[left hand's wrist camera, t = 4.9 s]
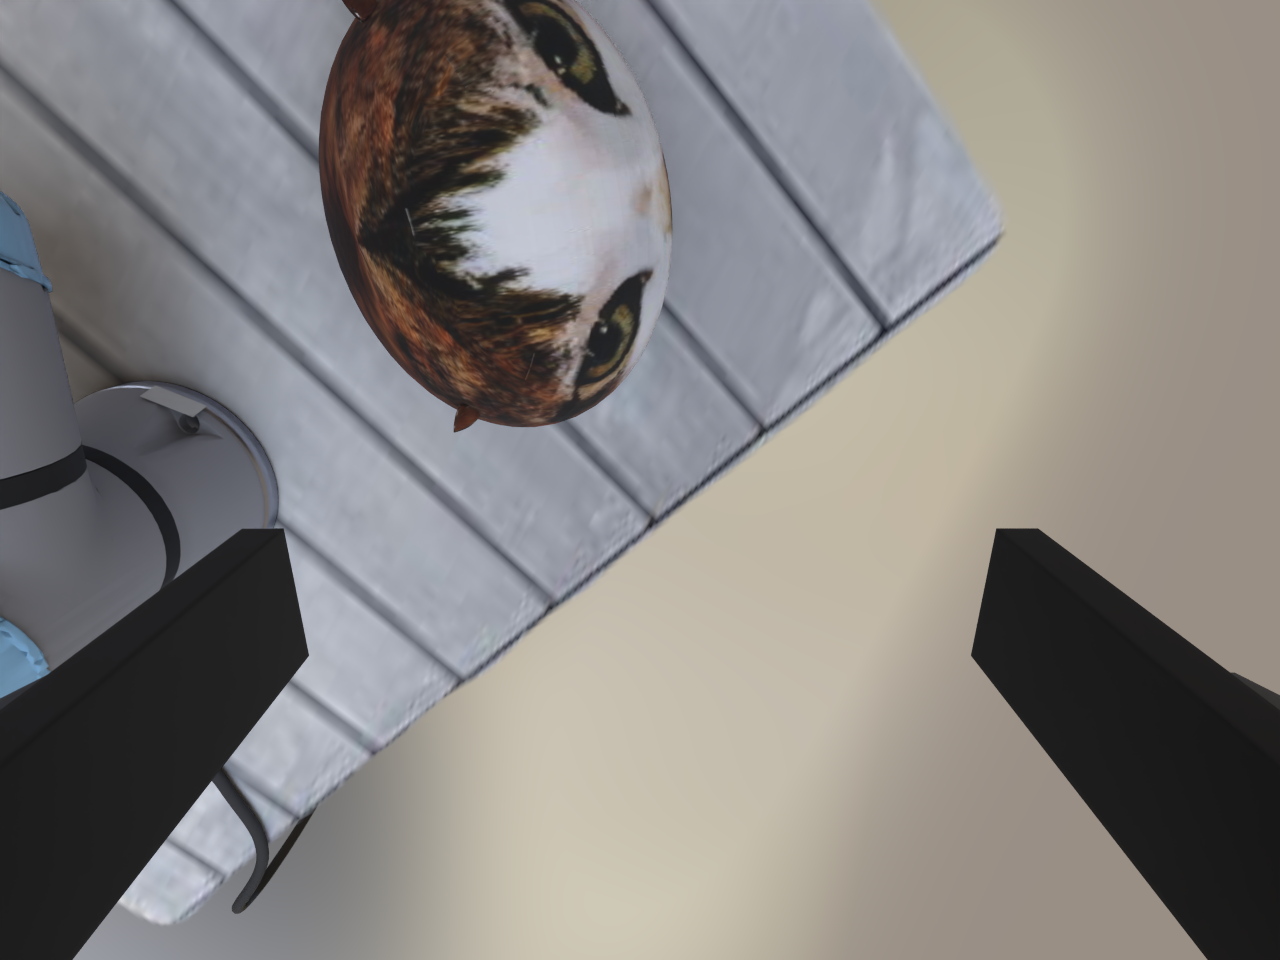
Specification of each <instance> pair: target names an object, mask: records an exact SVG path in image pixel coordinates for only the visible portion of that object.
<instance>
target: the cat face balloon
mask: <svg viewBox="0 0 1280 960" xmlns="http://www.w3.org/2000/svg"><path fill="white" fill-rule="evenodd" d="M342 1H343V2H344V4H345V5H346V7H347V8H348V9H349V11H350V12H351V13H352V14H353V15H354V16H355V17H356V18H355V19H354V21H353V23H352V24H351V26H350V28H349V30H348V31H347V33H346V35H345V37H344V38H343V40H342V43H341V45H340V47H339V49H338V52H337V54H336V57H335V60H334V62H333V65H332V68H331V72H330V75H329V79H328V82H327V86H326V91H325V96H324V101H323V106H322V111H321V122H320V134H319V169H320V182H321V191H322V199H323V204H324V210H325V216H326V221H327V225H328V229H329V233H330V237H331V241H332V244H333V247H334V250H335V253H336V256H337V259H338V262H339V266H340V268H341V271H342V273H343V275H344V277H345V280H346V282H347V284H348V287H349V289H350V291H351V293H352V295H353V297H354V299H355V301H356V303H357V305H358V307H359V309H360V311H361V312H362V314H363V316H364V318H365V320H366V321H367V323H368V324H369V326H370V327H371V329H372V330H373V332H374V333H375V335H376V336H377V338H378V339H379V340H380V342H381V343H382V344H383V346H384V347H385V348H386V350H387V351H388V352H389V354H390V355H391V356H392V357H393V358H394V359H395V360H396V361H397V363H398V364H399V365H400V366H401V367H402V368H403V369H404V370H405V371H406V372H407V373H408V374H409V375H410V376H411V377H412V378H413V379H415V380H416V381H417V382H418V383H419V384H420V385H422V386H423V387H424V388H425V389H426V390H427V391H429V392H430V393H431V394H433V395H434V396H436V397H437V398H438V399H440V400H442V401H443V402H445V403H446V404H448V405H450V406H451V407H453V408H455V409H457V413H456V416H455V421H454V432H458V431H461V430H463V429H466V428H468V427H469V426H471V425H472V424H473V423H474V422H475V421H476V420H477V419H480V420H484V421H487V422H490V423H494V424H499V425H505V426H512V427H537V426H544V425H550V424H556V423H559V422H561V421H564V420H567V419H570V418H573V417H576V416H578V415H580V414H581V413H583V412H585V411H587V410H589V409H590V408H592V407H594V406H595V405H597V404H598V403H599V402H601V401H602V400H603V399H604V398H606V397H607V396H608V395H609V394H610V393H612V392H613V391H614V390H615V389H616V388H617V386H618V385H619V384H620V383H621V382H622V381H623V380H624V379H625V378H626V377H627V375H628V374H629V373H630V371H631V370H632V369H633V367H634V366H635V364H636V363H637V361H638V360H639V358H640V357H641V355H642V353H643V351H644V349H645V348H646V346H647V344H648V342H649V340H650V337H651V335H652V333H653V330H654V328H655V325H656V323H657V321H658V318H659V315H660V311H661V308H662V305H663V301H664V296H665V292H666V288H667V283H668V277H669V271H670V264H671V253H672V208H671V197H670V189H669V182H668V175H667V170H666V165H665V160H664V155H663V151H662V148H661V144H660V140H659V137H658V133H657V130H656V127H655V124H654V121H653V119H652V116H651V113H650V111H649V108H648V106H647V104H646V101H645V99H644V97H643V94H642V92H641V90H640V88H639V86H638V84H637V82H636V80H635V78H634V76H633V74H632V72H631V70H630V69H629V67H628V65H627V64H626V62H625V60H624V59H623V57H622V55H621V54H620V53H619V51H618V50H617V48H616V47H615V45H614V44H613V43H612V41H611V40H610V38H609V37H608V36H607V34H606V33H605V32H604V30H603V29H602V28H601V27H600V26H599V25H598V23H597V22H596V21H595V20H594V19H593V18H592V17H591V16H590V15H589V14H588V13H587V12H586V11H585V9H584V8H583V7H582V6H580V5H579V4H578V3H577V2H576V1H575V0H342Z"/></svg>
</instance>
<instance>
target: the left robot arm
mask: <svg viewBox="0 0 1280 960" xmlns="http://www.w3.org/2000/svg"><path fill="white" fill-rule="evenodd" d="M48 292H52V285H51V282H50V280H49V279H48V278H47V277H46V276H45V275H43V272H42V269H41V265H40V261H39V258H38V254H37V251H36V247H35V244H34V240H33V237H32V233H31V230H30V226H29V223H28V221H27V219H26V217H25V215H24V213H23V211H22V210H21V209H20V207H19V206H18V205H17V204H16V203H15V202H14V201H13V200H12V199H11V198H9V197H8V196H7V195H5V194H4V193H3V192H1V191H0V960H73V958H74V957H75V956H76V954H77V953H78V952H79V951H80V949H81V948H82V947H83V945H84V944H85V943H86V942H87V940H88V939H89V938H90V936H91V935H92V934H93V933H94V931H95V930H96V929H97V927H98V926H99V925H100V924H101V922H102V921H103V920H104V918H105V917H106V916H107V915H108V913H109V912H110V911H111V909H112V908H113V907H114V906H115V904H116V903H117V902H118V900H119V899H120V898H121V897H122V895H123V894H124V893H125V891H126V890H127V889H128V888H129V886H130V885H131V884H132V882H133V881H134V880H135V879H136V877H137V876H138V875H139V873H140V872H141V871H142V870H143V868H144V867H145V866H146V864H147V863H148V862H149V861H150V859H151V858H152V857H153V855H154V854H155V853H156V852H157V850H158V849H159V848H160V846H161V845H162V844H163V843H164V841H165V840H166V839H167V837H168V836H169V835H170V834H171V832H172V831H173V830H174V828H175V827H176V826H177V825H178V823H179V822H180V821H181V819H182V818H183V817H184V816H185V814H186V813H187V812H188V810H189V809H190V808H191V807H192V805H193V804H194V803H195V801H196V800H197V799H198V798H199V796H200V795H201V794H202V792H203V791H204V790H205V789H206V787H207V786H208V785H209V783H210V782H211V781H212V782H213V783H214V784H215V785H216V787H217V788H218V789H219V791H220V792H221V794H222V795H223V796H224V798H225V799H226V801H227V802H228V803H229V805H230V806H231V807H232V809H233V810H234V811H235V813H236V814H237V815H238V816H239V818H240V819H241V820H242V822H243V823H244V825H245V826H246V828H247V829H248V831H249V833H250V834H251V836H252V838H253V841H254V844H255V848H256V854H257V859H256V865H255V869H254V871H253V874H252V876H251V878H250V879H249V881H248V883H247V884H246V886H245V887H244V889H243V890H242V892H241V893H240V894H239V896H238V897H237V899H236V900H235V902H234V904H233V905H232V911H233V912H234V913H235V914H238V913H241V912H242V911H244V910H245V909H246V908H247V907H248V906H249V905H250V904H251V903H252V902H253V901H254V900H255V899H256V897H257V896H258V895H259V894H260V893H261V891H262V890H263V889H264V887H265V886H266V885H267V884H268V882H269V881H270V879H271V878H272V877H273V875H274V874H275V872H276V871H277V869H278V868H279V866H280V865H281V863H282V862H283V861H284V859H285V857H286V856H287V855H288V853H289V851H290V850H291V848H292V847H293V845H294V844H295V842H296V841H297V839H298V837H299V836H300V834H301V833H302V831H303V829H304V828H305V826H306V824H307V823H308V821H309V820H310V818H311V816H312V815H313V813H314V811H315V810H316V808H317V806H316V807H315V808H314V809H312V810H311V811H310V812H308V813H307V814H306V815H305V816H304V817H303V818H301V819H300V820H299V821H298V822H297V824H296V826H295V827H294V829H293V830H292V832H291V833H290V835H289V836H288V838H287V839H286V841H285V842H284V844H283V845H282V847H281V848H280V850H279V851H278V853H277V854H276V856H275V857H274V859H273V860H272V862H271V863H270V864H269V866H268V867H267V865H268V860H269V849H268V843H267V839H266V836H265V834H264V831H263V829H262V827H261V825H260V824H259V822H258V820H257V819H256V817H255V815H254V814H253V813H252V811H251V810H250V808H249V807H248V806H247V804H246V803H245V802H244V800H243V799H242V798H241V796H240V795H239V794H238V792H237V791H236V790H235V788H234V787H233V785H232V784H231V782H230V781H229V780H228V778H227V777H226V775H225V774H224V773H223V772H222V771H221V768H222V767H223V765H224V764H225V763H226V762H227V760H228V759H229V758H230V756H231V755H232V754H233V753H234V751H235V750H236V749H237V747H238V746H239V745H240V744H241V742H242V741H243V740H244V738H245V737H246V736H247V735H248V733H249V732H250V731H251V729H252V728H253V727H254V726H255V724H256V723H257V722H258V720H259V719H260V718H261V717H262V715H263V714H264V713H265V711H266V710H267V709H268V708H269V706H270V705H271V704H272V702H273V701H274V700H275V699H276V697H277V696H278V695H279V693H280V692H281V691H282V690H283V688H284V687H285V686H286V684H287V683H288V682H289V681H290V679H291V678H292V677H293V675H294V674H295V673H296V672H297V670H298V669H299V668H300V666H301V665H302V664H303V663H304V661H305V660H306V659H307V657H308V656H309V653H308V648H307V643H306V638H305V633H304V628H303V623H302V618H301V613H300V608H299V603H298V598H297V593H296V588H295V583H294V578H293V573H292V568H291V563H290V558H289V553H288V548H287V543H286V538H285V533H284V529H273V527H274V525H275V521H276V517H277V511H278V491H277V485H276V479H275V476H274V473H273V469H272V467H271V464H270V462H269V460H268V458H267V456H266V454H265V452H264V450H263V448H262V447H261V445H260V444H259V442H258V441H257V439H256V438H255V437H254V435H253V434H252V433H251V432H250V430H249V429H248V428H247V427H246V426H245V425H244V424H243V423H242V422H241V421H240V420H239V419H238V418H237V417H236V416H235V415H233V414H232V413H231V412H230V411H228V410H227V409H226V408H224V407H223V406H221V405H220V404H219V403H217V402H215V401H214V400H212V399H210V398H208V397H207V396H205V395H202V394H200V393H198V392H196V391H193V390H191V389H188V388H185V387H182V386H178V385H175V384H170V383H164V382H155V381H139V382H130V383H125V384H121V385H117V386H114V387H111V388H107V389H104V390H101V391H97V392H94V393H92V394H90V395H87V396H85V397H83V398H82V399H80V400H79V401H77V402H76V403H74V404H73V399H72V395H71V391H70V386H69V382H68V378H67V373H66V369H65V364H64V360H63V356H62V351H61V347H60V343H59V338H58V334H57V329H56V325H55V321H54V316H53V312H52V307H51V303H50V299H49V294H48ZM971 656H972V657H973V659H974V660H975V661H976V663H977V664H978V665H979V666H980V668H981V669H982V670H983V672H984V673H985V674H986V675H987V677H988V678H989V679H990V681H991V682H992V683H993V684H994V686H995V687H996V688H997V690H998V691H999V692H1000V693H1001V695H1002V696H1003V697H1004V699H1005V700H1006V701H1007V702H1008V704H1009V705H1010V706H1011V708H1012V709H1013V710H1014V711H1015V713H1016V714H1017V715H1018V717H1019V718H1020V719H1021V720H1022V722H1023V723H1024V724H1025V726H1026V727H1027V728H1028V729H1029V731H1030V732H1031V733H1032V735H1033V736H1034V737H1035V738H1036V740H1037V741H1038V742H1039V744H1040V745H1041V746H1042V747H1043V749H1044V750H1045V751H1046V753H1047V754H1048V755H1049V756H1050V758H1051V759H1052V760H1053V762H1054V763H1055V764H1056V765H1057V767H1058V768H1059V769H1060V771H1061V772H1062V773H1063V774H1064V776H1065V777H1066V778H1067V780H1068V781H1069V782H1070V783H1071V785H1072V786H1073V787H1074V789H1075V790H1076V791H1077V792H1078V794H1079V795H1080V796H1081V798H1082V799H1083V800H1084V801H1085V803H1086V804H1087V805H1088V807H1089V808H1090V809H1091V810H1092V812H1093V813H1094V814H1095V816H1096V817H1097V818H1098V819H1099V821H1100V822H1101V823H1102V825H1103V826H1104V827H1105V828H1106V830H1107V831H1108V832H1109V834H1110V835H1111V836H1112V837H1113V839H1114V840H1115V841H1116V843H1117V844H1118V845H1119V846H1120V848H1121V849H1122V850H1123V852H1124V853H1125V854H1126V855H1127V857H1128V858H1129V859H1130V861H1131V862H1132V863H1133V864H1134V866H1135V867H1136V868H1137V870H1138V871H1139V872H1140V873H1141V875H1142V876H1143V877H1144V879H1145V880H1146V881H1147V882H1148V884H1149V885H1150V886H1151V888H1152V889H1153V890H1154V891H1155V893H1156V894H1157V895H1158V897H1159V898H1160V899H1161V900H1162V902H1163V903H1164V904H1165V906H1166V907H1167V908H1168V909H1169V911H1170V912H1171V913H1172V915H1173V916H1174V917H1175V918H1176V920H1177V921H1178V922H1179V924H1180V925H1181V926H1182V927H1183V929H1184V930H1185V931H1186V932H1187V934H1188V935H1189V936H1190V938H1191V939H1192V940H1193V941H1194V943H1195V944H1196V945H1197V947H1198V948H1199V949H1200V951H1201V952H1202V953H1203V954H1204V956H1205V957H1206V958H1207V960H1280V695H1278V694H1276V693H1274V692H1272V691H1270V690H1268V689H1266V688H1264V687H1262V686H1260V685H1258V684H1256V683H1254V682H1252V681H1250V680H1248V679H1246V678H1244V677H1242V676H1240V675H1238V674H1236V673H1230V672H1229V671H1227V670H1226V669H1225V668H1223V667H1222V666H1221V665H1219V664H1218V663H1216V662H1215V661H1214V660H1213V659H1211V658H1210V657H1209V656H1207V655H1206V654H1205V653H1203V652H1202V651H1201V650H1199V649H1198V648H1197V647H1195V646H1194V645H1193V644H1191V643H1190V642H1189V641H1187V640H1186V639H1185V638H1183V637H1182V636H1181V635H1179V634H1178V633H1177V632H1175V631H1174V630H1173V629H1171V628H1170V627H1169V626H1167V625H1166V624H1165V623H1163V622H1162V621H1161V620H1159V619H1158V618H1156V617H1155V616H1154V615H1152V614H1151V613H1150V612H1148V611H1147V610H1146V609H1145V608H1143V607H1142V606H1141V605H1139V604H1138V603H1137V602H1135V601H1134V600H1133V599H1131V598H1130V597H1129V596H1127V595H1126V594H1125V593H1123V592H1122V591H1121V590H1119V589H1118V588H1116V587H1115V586H1114V585H1113V584H1111V583H1110V582H1109V581H1107V580H1106V579H1105V578H1103V577H1102V576H1101V575H1099V574H1098V573H1097V572H1095V571H1094V570H1093V569H1091V568H1090V567H1089V566H1087V565H1086V564H1085V563H1083V562H1082V561H1081V560H1079V559H1078V558H1076V557H1075V556H1074V555H1073V554H1071V553H1070V552H1069V551H1067V550H1066V549H1064V548H1063V547H1062V546H1061V545H1059V544H1058V543H1057V542H1055V541H1054V540H1052V539H1051V538H1050V537H1049V536H1047V535H1046V534H1045V533H1043V532H1042V531H1041V530H1039V529H996V533H995V538H994V543H993V548H992V553H991V558H990V563H989V568H988V573H987V578H986V583H985V588H984V594H983V598H982V603H981V608H980V613H979V618H978V623H977V628H976V633H975V638H974V643H973V648H972V653H971ZM266 868H267V869H266Z"/></svg>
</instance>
